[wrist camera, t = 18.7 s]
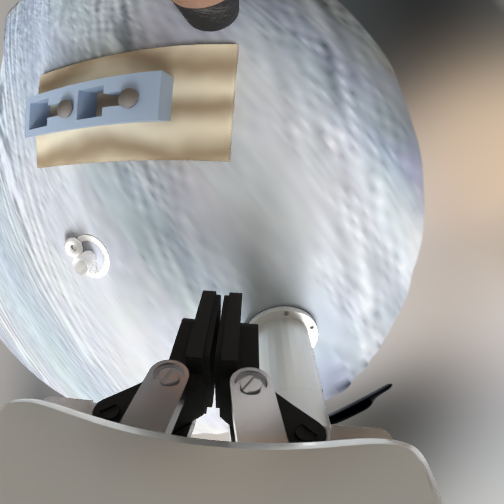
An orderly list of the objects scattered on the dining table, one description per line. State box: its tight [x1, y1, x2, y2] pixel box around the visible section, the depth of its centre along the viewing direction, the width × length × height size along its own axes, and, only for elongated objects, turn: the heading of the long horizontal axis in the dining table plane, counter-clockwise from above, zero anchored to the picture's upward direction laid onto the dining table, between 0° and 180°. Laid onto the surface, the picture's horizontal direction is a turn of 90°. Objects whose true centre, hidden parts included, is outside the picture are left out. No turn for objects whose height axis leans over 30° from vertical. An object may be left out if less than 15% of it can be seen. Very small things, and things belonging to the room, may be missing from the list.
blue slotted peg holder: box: [25, 70, 174, 138], centre depth 28 cm, size 6×22×5 cm, turn 85°
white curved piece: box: [64, 235, 110, 278], centre depth 39 cm, size 9×8×4 cm
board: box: [37, 44, 239, 168], centre depth 28 cm, size 16×32×7 cm, turn 86°
